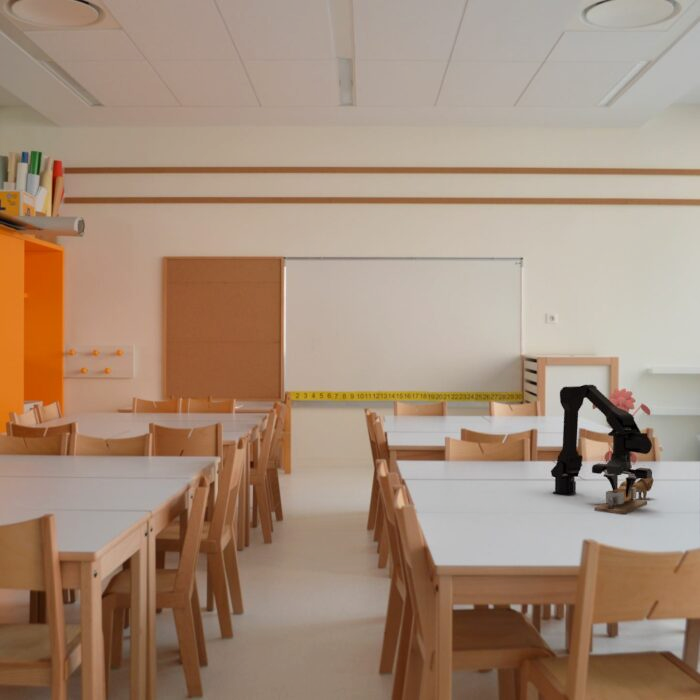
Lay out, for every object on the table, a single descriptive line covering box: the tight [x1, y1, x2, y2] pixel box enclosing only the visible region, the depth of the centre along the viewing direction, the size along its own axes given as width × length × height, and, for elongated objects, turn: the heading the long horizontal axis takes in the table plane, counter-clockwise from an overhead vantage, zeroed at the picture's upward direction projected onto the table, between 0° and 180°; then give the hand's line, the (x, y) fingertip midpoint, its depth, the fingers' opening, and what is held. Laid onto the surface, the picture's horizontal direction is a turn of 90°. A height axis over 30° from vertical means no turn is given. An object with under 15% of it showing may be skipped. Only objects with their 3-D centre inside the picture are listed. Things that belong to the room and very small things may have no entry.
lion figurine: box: [619, 476, 654, 502], centre depth 279 cm, size 15×5×9 cm, turn 105°
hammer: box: [605, 485, 637, 504], centre depth 265 cm, size 5×15×4 cm, turn 141°
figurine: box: [592, 388, 651, 466], centre depth 368 cm, size 15×26×35 cm, turn 67°
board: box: [593, 498, 648, 516], centre depth 265 cm, size 10×22×4 cm, turn 141°
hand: (621, 496), depth 266 cm, fingers closed on hammer, 3 cm apart
